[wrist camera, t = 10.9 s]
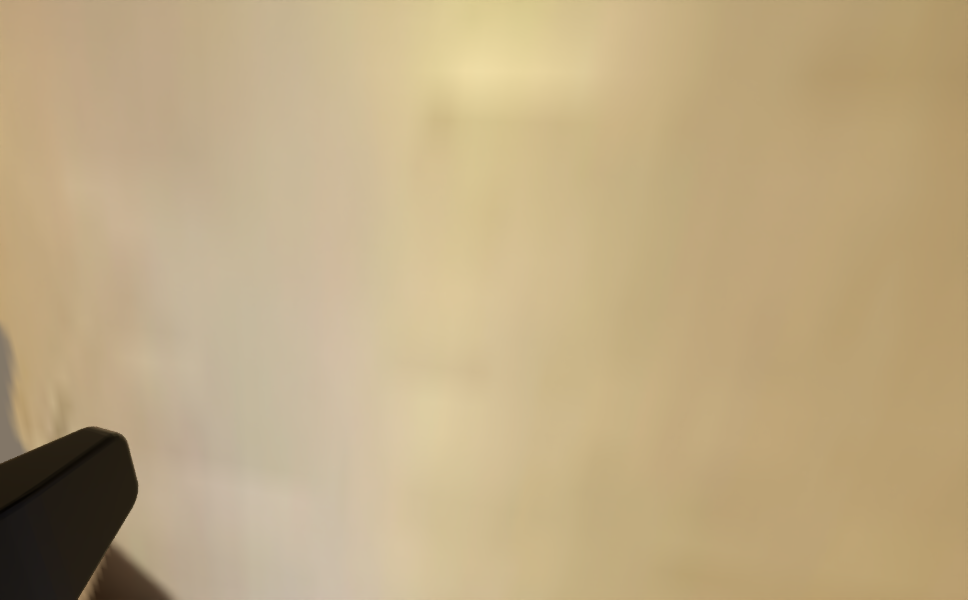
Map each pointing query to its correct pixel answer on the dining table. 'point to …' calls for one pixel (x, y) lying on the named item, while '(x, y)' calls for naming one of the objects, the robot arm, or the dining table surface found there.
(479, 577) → the dining table surface
